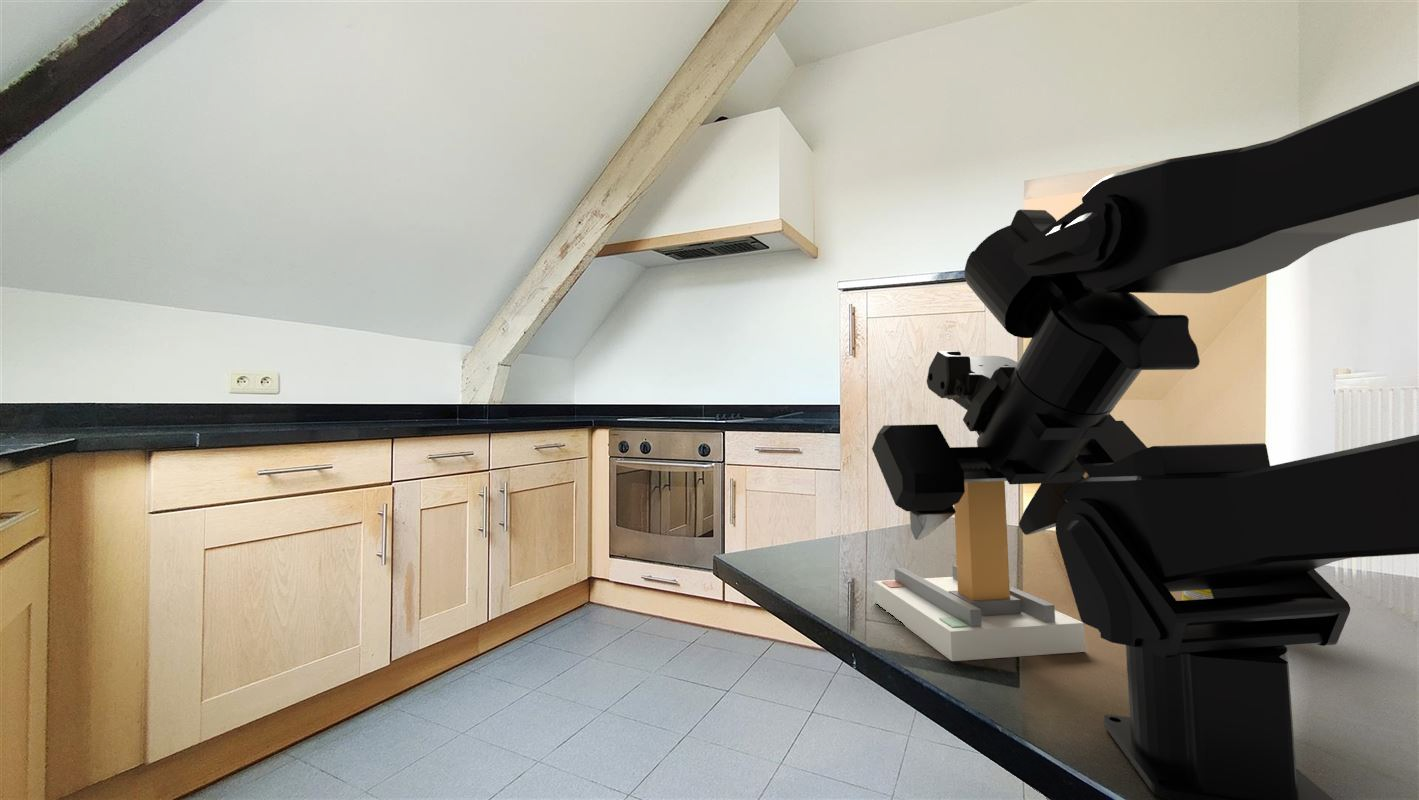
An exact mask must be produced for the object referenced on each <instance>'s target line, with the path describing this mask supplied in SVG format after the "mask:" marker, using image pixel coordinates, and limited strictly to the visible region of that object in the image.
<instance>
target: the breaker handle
mask: <svg viewBox="0 0 1419 800" xmlns="http://www.w3.org/2000/svg"><path fill="white" fill-rule="evenodd" d="M1005 482H1006V481H989V482H964V486H965V493H964V494H963V496H962V498H961V499H960V501H959V502H958V503H956V504H954V505H953V507H954V509H955V511H956V512H955V514H954V526H955V527H954V531H955V551H956V552H955V553H956V558H955V559H956V565H957V583H958V591H948V592H949V593H951V594H953V595H955V596H957V597H959V598H961V599H963V600H964V601H966V602H968V603H970V604H972V605H974V606H976V607H978V608H979V609H981V616H986V615H1002V614H1019V613H1021V600H1020V599H1018V598H1016V597H1014V596H1011V595H1010V586H1011V585H1010V569H1009V548H1008V546H1009V544H1008V526H1007V525H1008V524H1007V507H1006V506H1007V504H1006V503H1007V502H1006V483H1005Z"/></svg>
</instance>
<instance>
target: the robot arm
mask: <svg viewBox="0 0 1419 800" xmlns="http://www.w3.org/2000/svg"><path fill="white" fill-rule="evenodd" d="M1081 202H1082V203H1081V204H1079V205H1077V206H1076V207H1075V208H1073V209H1072V210H1071V211H1069V212H1068V213H1067V214H1064V215H1063V216H1062V217H1061V218H1059V219H1056V217H1054V216H1053V215H1052V214H1051V213H1049V212H1048V211H1047V210H1045V209H1044V210H1043V209H1018V210H1017V211H1016V212H1015V215H1014V217H1013V219H1012V221H1011V223H1010V225H1007V226H1005V227H1002V228H1000V229H998V230H996V231H994V232H993V233H991V234H990V235H989V236H987V237H985V239H984V240H982V241H981V242H980V243H979V244H978V246H977V247H976V248H975V249H974V250H973V251H971V252H970V254H969V256H968V258H967V259H966V263H965V267H964V280H965V281H966V285H967V286H968V287H969V288H970V289H971V290H972V291H973V293H974V294H975V295H976V296H977V297H978V299H979V300H980V301H981V302H982V304H983V305H984V306H985V307H986V308H987V309H988V311H989V312H990V313H991V314H992V316H994V317H995V319H996V320H997V321H998V322H999V323H1000V325H1001V326H1002V328H1004V330H1005V331H1006V332H1007V334H1010V335H1012V336H1013V337H1018V338H1021V339H1030V341H1029V343H1028V345H1027V347H1026V348H1025V350H1024V352H1023V354H1022V355H1021V357H1020V359H1019V361H1016V360H1013V358H1012V359H1011V358H1009V357H1005V356H1001V355H962V352H961V351H960V350H937V352H936V354H935V356H934V357H933V359H932V360H931V363H930V364H929V367H928V371H927V377H926V385H927V388H928V389H929V390H930V391H931V392H932V393H934V394H935V395H937V397H939V398H941V399H947V400H952V401H954V402H955V403H956V404H958V405H959V406H960V407H962V408H963V409H965V410H966V412H965V414H964V416H963V418H962V421H963V423H964V424H965V426H966V427H967V430H968V431H969V432H976V434H977V436H978V437H977V439H976V444H977V445H976V446H960V447H959V446H958V447H957V446H953V447H951V446H950V444H949V443H948V441H947V439H946V438H945V436H944V434H943V433H942V430H941V429H940V427H939V425H938V424H934V423H933V424H894V425H893V424H885V425H883V426H882V427H881V429H880V430H879V431H878V433H877V434H876V436H875V440H874V443H873V444H872V445H873V446H872V448H871V450H872V452H873V454H874V457H875V459H876V462H877V464H878V467H879V469H880V471H881V474H882V476H883V478H884V481H885V483H886V485H887V488H888V490H889V493H890V495H891V497H892V498H891V499H892V500H893V502H894V505H895V506H896V507H898V508H900V509H902V510H903V511H905V512H909V521H910V530H911V534H912V535H913V538H914V539H915V540H916V541H918V540H922V539H924V538H925V537H926V536H929V535H930V534H931V533H932V532H934V531H935V530H936V529H938V528H939V527H940V526H941V525H943V524H944V523H945V522H946V521H947V520H949V519H950V518H952V516H955V512H956V511H955V509H954V504H956V503H958V502H959V501H960V499H961V498H962V496H963V494H964V493H965V486H964V482H989V481H1005V482H1007V483H1008V484H1009V485H1035V484H1039V486H1038V488H1037V490H1036V492H1035V493H1034V495H1033V497H1032V498H1031V500H1030V501H1029V503H1028V505H1027V506H1026V507H1025V510H1024V511H1023V513H1022V516H1021V518H1020V520H1019V522H1018V526H1019V529H1020V530H1021V531H1022V533H1023V535H1025V536H1029V535H1033V534H1036V533H1039V532H1043V531H1046V530H1049V529H1052V528H1055V535H1056V536H1055V537H1056V540H1057V544H1058V546H1059V547H1058V548H1059V551H1060V554H1061V557H1062V560H1063V565H1064V568H1065V571H1066V574H1067V578H1068V581H1069V583H1070V587H1071V591H1072V595H1073V597H1074V601H1075V605H1076V608H1077V611H1078V615H1079V618H1080V620H1081V622H1083V623H1084V625H1087V626H1089V627H1092V628H1094V629H1096V630H1098V632H1099V633H1100V638H1101V639H1103V640H1105V641H1107V642H1110V643H1113V644H1118V645H1124V646H1125V657H1126V671H1127V672H1126V673H1127V674H1126V675H1127V676H1126V677H1127V692H1128V693H1127V695H1128V707H1129V708H1128V710H1129V712H1128V713H1129V716H1124V715H1115V714H1105V715H1104V716H1103V725H1104V727H1105V730H1107V732H1108V733H1109V734H1110V736H1111V737H1112V738H1113V739H1114V742H1115V743H1116V744H1117V745H1118V747H1119V748H1120V749H1121V751H1122V752H1123V753H1124V756H1125V757H1126V758H1127V759H1128V760H1129V762H1130V763H1131V765H1132V766H1133V767H1134V769H1135V770H1136V771H1137V772H1138V774H1139V775H1140V777H1141V778H1142V780H1143V782H1144V783H1145V784H1146V785H1147V786H1148V788H1149V789H1150V791H1151V792H1152V793H1154V794H1155V795H1156V796H1157V797H1159V798H1161V799H1164V800H1335V799H1334V798H1332V797H1331V796H1330V795H1329V794H1328V793H1326V792H1325V791H1324V790H1323V789H1322V788H1321V787H1319V786H1318V785H1317V784H1316V783H1315V782H1313V781H1312V780H1311V779H1310V778H1309V777H1307V776H1306V775H1305V774H1304V773H1303V772H1301V771H1300V770H1299V769H1298V768H1297V764H1296V752H1295V750H1296V749H1295V737H1294V736H1295V735H1294V724H1293V723H1294V721H1293V708H1292V707H1293V706H1292V694H1291V682H1290V681H1291V680H1290V666H1289V665H1290V664H1289V654H1288V652H1289V651H1288V647H1298V646H1310V645H1318V646H1320V647H1321V646H1322V647H1326V646H1327V647H1329V646H1335V645H1337V644H1338V641H1339V639H1340V637H1341V635H1342V633H1343V629H1344V627H1345V625H1346V623H1347V619H1348V617H1349V615H1350V614H1351V607H1350V603H1349V602H1348V601H1347V600H1346V599H1345V598H1344V597H1343V596H1342V595H1341V594H1340V592H1339V591H1338V590H1336V589H1335V588H1334V587H1333V586H1332V585H1331V584H1330V583H1329V582H1328V581H1327V580H1326V579H1325V578H1324V577H1323V576H1322V575H1321V574H1320V573H1319V572H1318V571H1317V570H1316V569H1319V568H1321V567H1323V566H1326V565H1328V564H1331V563H1334V562H1338V561H1342V560H1347V559H1352V558H1353V559H1354V558H1355V559H1356V558H1370V557H1371V558H1372V557H1373V558H1374V557H1388V556H1391V557H1392V556H1407V555H1409V556H1410V555H1419V434H1414V435H1409V436H1405V437H1401V438H1395V439H1390V440H1386V441H1382V442H1377V443H1372V444H1367V445H1363V446H1358V447H1354V448H1353V447H1352V448H1348V449H1344V450H1339V451H1335V452H1330V453H1325V454H1322V455H1317V456H1312V457H1307V458H1302V459H1297V460H1296V459H1295V460H1293V461H1292V460H1291V461H1288V462H1284V463H1283V462H1282V463H1279V464H1274V465H1271V463H1270V459H1269V453H1268V448H1267V445H1266V443H1263V442H1261V443H1227V444H1226V443H1224V444H1223V443H1221V444H1185V445H1184V444H1182V445H1181V444H1180V445H1152V446H1150V447H1148V446H1146V444H1144V442H1143V441H1142V440H1141V439H1140V438H1139V437H1138V436H1137V435H1136V434H1135V433H1134V431H1133V430H1132V429H1131V428H1130V427H1129V426H1128V425H1127V424H1126V422H1125V421H1123V420H1117V419H1115V418H1114V417H1113V416H1112V415H1111V412H1113V410H1114V408H1115V407H1116V405H1118V403H1119V402H1120V400H1121V399H1122V397H1124V395H1125V393H1127V391H1128V390H1129V388H1130V387H1131V385H1132V384H1133V383H1134V382H1135V380H1136V379H1137V378H1138V376H1139V375H1140V374H1141V372H1142V371H1177V370H1178V371H1180V370H1181V371H1184V370H1186V371H1187V370H1194V369H1197V368H1198V366H1199V365H1200V363H1201V362H1200V361H1201V359H1200V356H1199V351H1198V346H1197V345H1196V343H1195V341H1194V340H1193V338H1192V336H1191V333H1190V331H1189V330H1190V329H1189V326H1190V325H1189V321H1190V319H1189V317H1188V316H1187V315H1185V314H1159V313H1158V312H1156V311H1155V310H1154V309H1153V308H1151V307H1150V306H1149V305H1148V304H1146V303H1145V301H1143V300H1141V299H1140V298H1139V297H1138V296H1136V295H1135V294H1134V293H1136V294H1140V293H1141V294H1212V293H1215V292H1220V291H1223V290H1226V289H1228V288H1229V289H1230V288H1232V287H1234V286H1237V285H1240V284H1244V283H1246V282H1248V281H1252V280H1254V279H1257V278H1259V277H1263V276H1265V275H1268V274H1271V273H1274V272H1278V271H1280V270H1282V269H1285V268H1287V267H1289V266H1290V265H1292V264H1293V263H1295V262H1296V261H1298V260H1299V259H1301V258H1303V257H1304V256H1306V255H1307V254H1309V253H1310V252H1312V251H1313V250H1316V249H1317V248H1319V247H1322V246H1324V245H1327V244H1330V243H1332V242H1336V241H1337V240H1340V239H1343V238H1345V237H1350V236H1353V235H1355V234H1359V233H1364V232H1367V231H1372V230H1376V229H1381V228H1384V227H1388V226H1390V227H1391V226H1392V225H1394V226H1395V225H1399V224H1403V223H1405V222H1410V221H1411V222H1412V221H1415V220H1419V80H1418V81H1416V82H1413V83H1411V84H1408V85H1406V86H1403V87H1401V88H1399V89H1396V90H1393V91H1391V92H1389V93H1387V94H1384V95H1381V96H1379V97H1376V98H1374V99H1371V100H1369V101H1366V102H1363V103H1361V104H1359V105H1357V106H1355V107H1354V106H1353V107H1352V108H1350V109H1347V110H1345V111H1342V112H1339V113H1337V114H1334V115H1332V116H1329V117H1327V118H1324V119H1322V120H1320V121H1316V122H1315V123H1313V124H1310V125H1307V126H1305V127H1303V128H1300V129H1298V130H1296V131H1293V132H1290V133H1288V134H1285V135H1283V136H1281V137H1278V138H1276V139H1272V140H1268V141H1263V142H1261V143H1259V142H1258V143H1256V144H1251V145H1247V146H1243V147H1238V148H1232V149H1226V150H1218V151H1212V152H1206V153H1199V154H1192V155H1187V156H1180V157H1173V158H1168V159H1163V160H1160V161H1155V162H1153V163H1152V162H1151V163H1148V164H1144V165H1142V166H1137V167H1133V168H1130V169H1127V170H1122V171H1119V172H1115V173H1112V174H1109V175H1107V176H1105V177H1102V179H1100V180H1099V181H1097V182H1096V183H1094V184H1093V185H1092V187H1090V188H1089V189H1088V190H1087V191H1086V193H1084V195H1083V196H1082V197H1081ZM1193 590H1211V593H1212V595H1213V598H1214V599H1198V600H1182V599H1180V600H1177V599H1176V597H1174V595H1173V594H1172V593H1173V592H1182V591H1193Z"/></svg>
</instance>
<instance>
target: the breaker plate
mask: <svg viewBox="0 0 1419 800" xmlns="http://www.w3.org/2000/svg"><path fill="white" fill-rule="evenodd" d="M951 569H952V576H948V577H947V576H944V577H926V578H924V577H921V576H919V575H917V574H916V573H914V572H912V571H910V570H908V569H906V568H904V567H894V579H887V580H873V586H874V587H873V591H874V592H873V595H874V596H873V597H874V601H875V600H876V601H877V602H878V603H879V604H880V605H882V606H883V607H884V608H885V609H886V610H887V611H888V612H889V613H891V614H892V615H893V616H894V617H896V618H897V619H898V620H899V621H901V622H902V623H903V624H904V625H905V627H906V628H907V629H908V630H910V631H911V632H913V633H914V634H915V635H916V636H917V637H919V638H920V639H921V640H923V641H924V642H926V643H927V644H928V645H929V646H931V647H932V648H934V649H935V650H936V651H938V652H939V654H941V655H943V657H946V658H947V659H948V660H949V661H951V662H958V661H959V662H961V661H972V660H973V661H974V660H975V661H976V660H986V659H987V660H989V659H1000V658H1002V659H1003V658H1016V657H1017V658H1018V657H1030V656H1043V655H1045V656H1046V655H1058V654H1072V653H1074V654H1075V653H1085V652H1086V640H1085V639H1086V638H1085V636H1086V635H1085V623H1083V622H1082V621H1080V620H1079V619H1076V618H1073V617H1071V616H1069V615H1067V614H1064V613H1062V612H1060V611H1058V610H1056V608H1055V604H1053V603H1050V602H1049V601H1047V600H1044V599H1041V598H1039V597H1037V596H1035V595H1032V594H1031V593H1027V592H1025V591H1023V590H1020V589H1018V588H1017V587H1013V586H1011V585H1009V586H1010V595H1011V596H1014V597H1016V598H1018V599H1020V600H1021V613H1019V614H1002V615H986V616H981V609H979V608H978V607H976V606H974V605H972V604H970V603H968V602H966V601H964V600H963V599H961V598H959V597H957V596H955V595H953V594H951V593H949V592H948V591H958V583H957V564H953V565H952V568H951ZM894 617H893V618H894ZM898 620H897V621H898ZM899 621H898V622H899ZM902 623H901V624H902ZM903 624H902V625H903ZM904 625H903V626H904Z"/></svg>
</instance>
